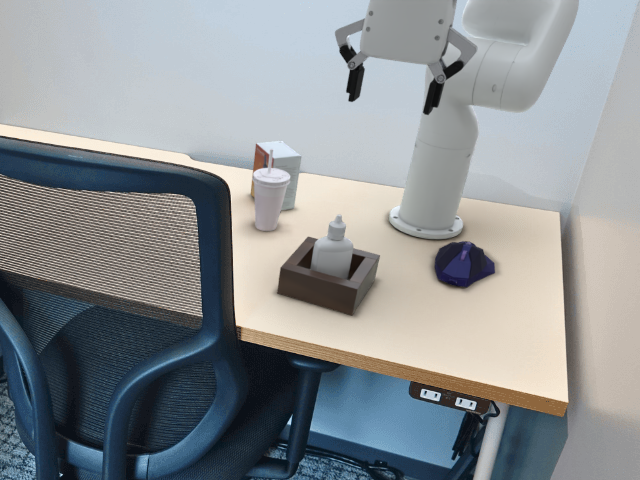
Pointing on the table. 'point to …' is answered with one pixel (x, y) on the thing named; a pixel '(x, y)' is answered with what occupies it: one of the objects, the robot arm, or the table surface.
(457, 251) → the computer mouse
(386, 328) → the table surface
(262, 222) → the smoothie
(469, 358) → the table surface
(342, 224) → the eye dropper bottle
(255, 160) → the small box
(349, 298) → the holder
